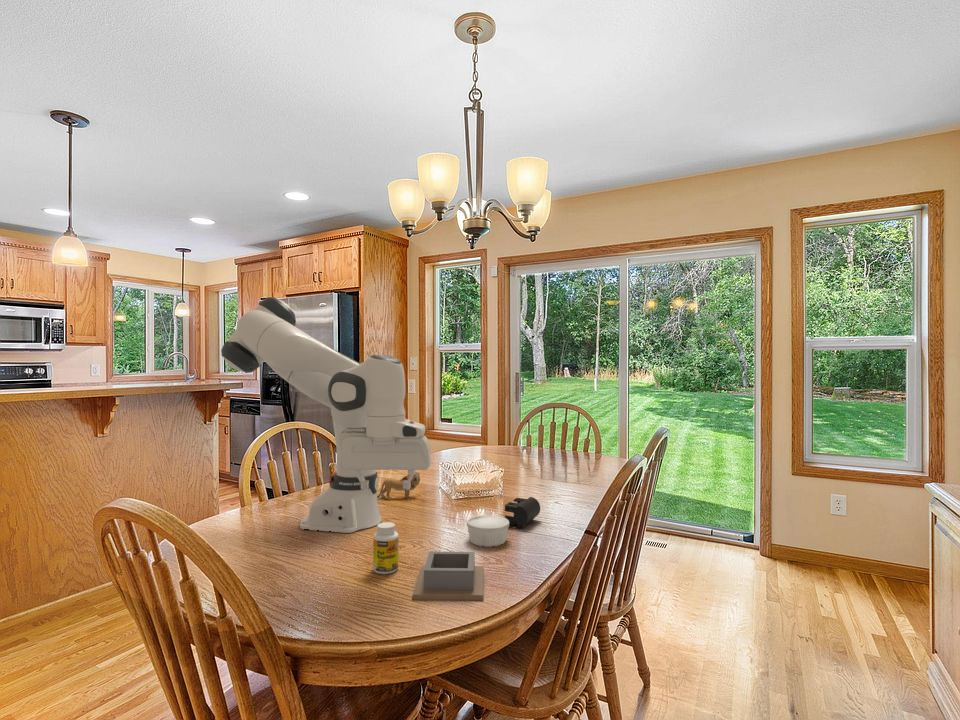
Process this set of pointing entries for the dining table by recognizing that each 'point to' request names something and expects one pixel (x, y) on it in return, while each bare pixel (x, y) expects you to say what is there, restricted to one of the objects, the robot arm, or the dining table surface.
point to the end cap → (522, 511)
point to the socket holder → (450, 577)
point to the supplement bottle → (385, 549)
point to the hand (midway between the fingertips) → (385, 489)
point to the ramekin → (488, 530)
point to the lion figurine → (399, 485)
